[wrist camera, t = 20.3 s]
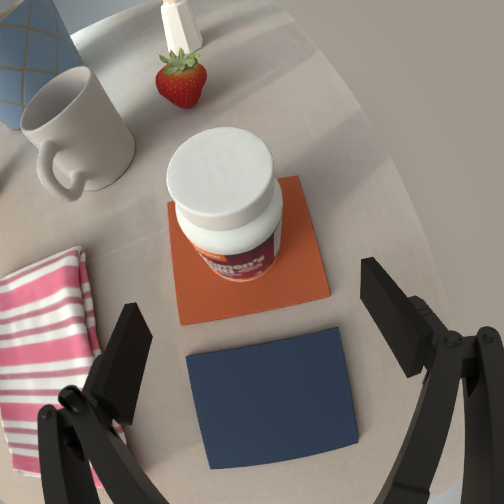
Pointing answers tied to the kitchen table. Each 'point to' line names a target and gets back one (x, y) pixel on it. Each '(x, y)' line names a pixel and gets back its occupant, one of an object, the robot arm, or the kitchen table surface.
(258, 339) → the kitchen table surface
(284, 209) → the terracotta mat
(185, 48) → the pepper shaker
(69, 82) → the mug
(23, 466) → the dish towel
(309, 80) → the kitchen table surface
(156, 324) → the kitchen table surface
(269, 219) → the pill bottle
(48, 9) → the planter
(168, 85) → the fruit
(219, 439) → the slate blue mat
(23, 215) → the kitchen table surface
